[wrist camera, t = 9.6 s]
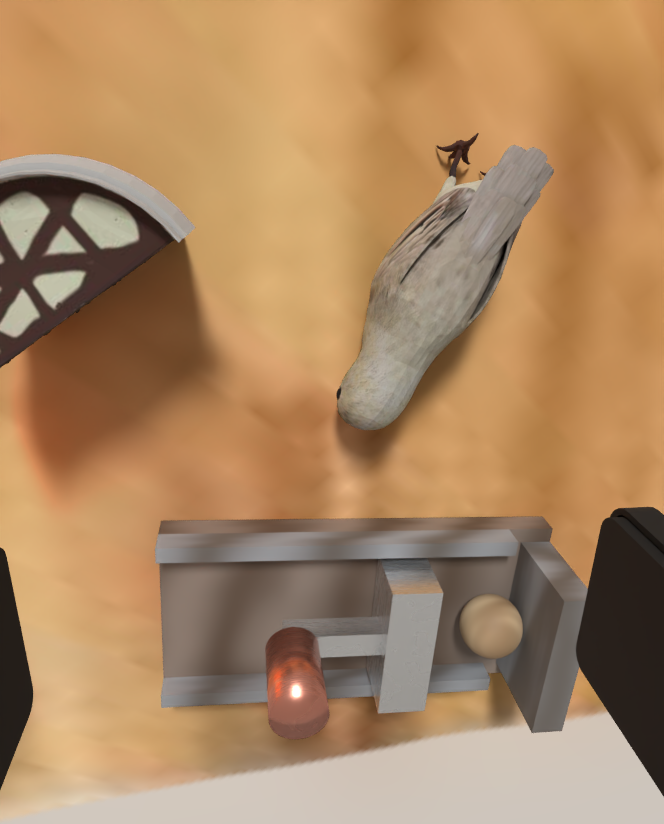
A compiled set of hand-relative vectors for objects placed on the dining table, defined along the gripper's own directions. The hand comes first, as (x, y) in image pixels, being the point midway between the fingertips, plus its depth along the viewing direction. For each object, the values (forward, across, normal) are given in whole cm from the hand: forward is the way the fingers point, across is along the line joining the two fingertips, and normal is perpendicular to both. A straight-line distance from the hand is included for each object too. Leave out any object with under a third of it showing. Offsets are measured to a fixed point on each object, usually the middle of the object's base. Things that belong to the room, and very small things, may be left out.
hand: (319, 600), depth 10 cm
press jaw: (+25, -4, +21) cm, 33 cm away
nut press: (+26, -5, +21) cm, 34 cm away
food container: (+26, +10, -3) cm, 28 cm away
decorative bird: (+27, -8, 0) cm, 28 cm away
